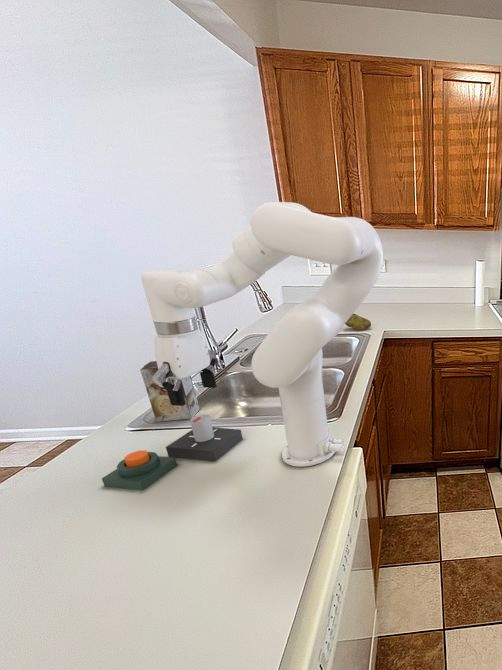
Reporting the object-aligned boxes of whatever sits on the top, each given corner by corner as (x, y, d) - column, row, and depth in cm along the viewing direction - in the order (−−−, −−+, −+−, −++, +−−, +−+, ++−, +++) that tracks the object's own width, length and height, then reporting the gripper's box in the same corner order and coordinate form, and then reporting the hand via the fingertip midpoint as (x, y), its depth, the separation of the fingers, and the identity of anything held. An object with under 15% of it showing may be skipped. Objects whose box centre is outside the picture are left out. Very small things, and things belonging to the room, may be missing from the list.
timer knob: (203, 433, 100) (197, 412, 98) (218, 434, 100) (213, 413, 98) (191, 441, 97) (185, 420, 95) (206, 442, 96) (201, 421, 94)
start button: (154, 457, 89) (152, 451, 88) (138, 468, 85) (136, 461, 85) (138, 456, 89) (135, 449, 89) (121, 466, 86) (118, 460, 85)
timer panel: (243, 439, 104) (240, 428, 102) (215, 462, 94) (212, 450, 93) (200, 435, 105) (197, 425, 103) (168, 457, 95) (165, 446, 94)
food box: (200, 408, 118) (188, 358, 112) (192, 419, 112) (179, 366, 107) (164, 411, 116) (150, 360, 110) (154, 422, 110) (138, 369, 104)
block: (177, 465, 93) (173, 450, 91) (143, 490, 84) (138, 475, 83) (142, 462, 93) (137, 447, 92) (104, 487, 85) (98, 471, 83)
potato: (366, 332, 195) (364, 316, 192) (341, 330, 196) (340, 314, 193) (372, 327, 202) (371, 312, 199) (349, 326, 204) (347, 310, 201)
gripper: (191, 316, 96) (207, 380, 103) (125, 337, 80) (148, 411, 86) (220, 317, 96) (234, 382, 102) (158, 338, 80) (180, 414, 86)
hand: (195, 395), depth 94 cm, fingers open, 9 cm apart
